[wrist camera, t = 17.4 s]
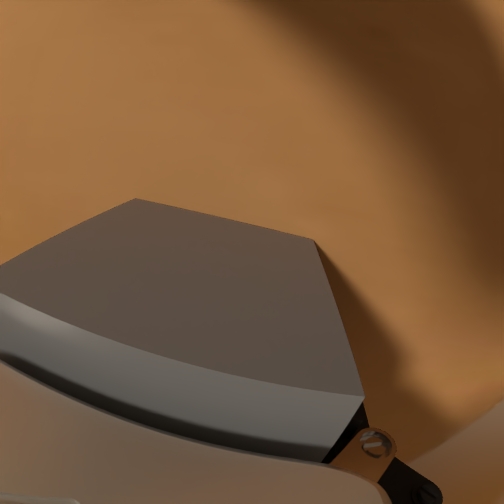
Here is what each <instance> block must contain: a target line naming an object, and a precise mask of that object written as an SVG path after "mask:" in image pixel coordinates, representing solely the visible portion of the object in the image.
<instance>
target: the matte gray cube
mask: <svg viewBox="0 0 504 504" xmlns="http://www.w3.org/2000/svg"><path fill="white" fill-rule="evenodd" d="M0 360H2V361H4V362H6V363H7V364H9V365H11V366H13V367H15V368H16V369H18V370H20V371H22V372H24V373H26V374H28V375H30V376H31V377H33V378H35V379H37V380H39V381H41V382H43V383H45V384H47V385H49V386H51V387H53V388H55V389H57V390H59V391H61V392H64V393H66V394H68V395H70V396H72V397H75V398H77V399H79V400H81V401H84V402H86V403H88V404H91V405H93V406H96V407H98V408H101V409H103V410H106V411H108V412H111V413H113V414H116V415H119V416H121V417H124V418H127V419H130V420H133V421H135V422H138V423H141V424H144V425H147V426H150V427H154V428H157V429H160V430H163V431H167V432H170V433H174V434H177V435H181V436H184V437H188V438H192V439H196V440H199V441H204V442H208V443H212V444H216V445H221V446H225V447H230V448H235V449H240V450H246V451H251V452H256V453H262V454H268V455H274V456H280V457H287V458H294V459H300V460H307V461H313V462H318V463H321V462H322V460H323V459H324V458H325V456H326V455H327V453H328V452H329V451H330V449H331V448H332V447H333V445H334V444H335V442H336V441H337V439H338V438H339V437H340V435H341V434H342V432H343V431H344V429H345V428H346V426H347V425H348V423H349V422H350V420H351V419H352V417H353V416H354V414H355V412H356V411H357V409H358V408H359V406H360V405H361V403H362V401H363V400H364V398H365V394H364V390H363V387H362V384H361V380H360V377H359V373H358V370H357V367H356V364H355V360H354V357H353V354H352V351H351V348H350V344H349V341H348V338H347V335H346V332H345V329H344V326H343V323H342V320H341V317H340V314H339V311H338V308H337V305H336V302H335V299H334V296H333V293H332V290H331V288H330V285H329V282H328V279H327V276H326V273H325V271H324V268H323V265H322V262H321V260H320V257H319V254H318V251H317V249H316V246H315V243H314V241H313V240H312V239H308V238H304V237H300V236H296V235H292V234H288V233H284V232H280V231H276V230H272V229H268V228H263V227H259V226H255V225H251V224H247V223H242V222H238V221H234V220H230V219H225V218H221V217H217V216H212V215H208V214H204V213H199V212H195V211H191V210H186V209H182V208H177V207H173V206H168V205H164V204H159V203H154V202H150V201H145V200H141V199H136V198H135V199H133V200H130V201H128V202H126V203H123V204H121V205H119V206H117V207H114V208H112V209H110V210H108V211H106V212H103V213H101V214H99V215H97V216H95V217H93V218H90V219H88V220H86V221H84V222H82V223H80V224H78V225H76V226H74V227H72V228H70V229H68V230H66V231H64V232H62V233H60V234H58V235H56V236H54V237H52V238H50V239H48V240H46V241H44V242H42V243H40V244H38V245H36V246H35V247H33V248H31V249H29V250H27V251H25V252H23V253H22V254H20V255H18V256H16V257H14V258H13V259H11V260H9V261H7V262H6V263H4V264H2V265H0Z"/></svg>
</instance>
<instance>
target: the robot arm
mask: <svg viewBox="0 0 504 504" xmlns="http://www.w3.org/2000/svg"><path fill="white" fill-rule="evenodd" d="M396 451H397V447H396V443H395V441H394V439H393V438H392V437H391V436H390V435H389V434H388V433H387V432H385V431H383V430H381V429H377V428H369V424H368V420H367V416H366V412H365V408H364V405H363V401H362V403H361V405H360V406H359V408H358V409H357V411H356V412H355V414H354V416H353V417H352V419H351V420H350V422H349V423H348V425H347V426H346V428H345V429H344V431H343V432H342V434H341V435H340V437H339V438H338V439H337V441H336V442H335V444H334V445H333V447H332V448H331V449H330V451H329V452H328V453H327V455H326V456H325V458H324V459H323V460H322V462H321V463H318V462H313V461H307V460H300V459H294V458H287V457H280V456H274V455H268V454H262V453H256V452H251V451H246V450H240V449H235V448H230V447H225V446H221V445H216V444H212V443H208V442H204V441H199V440H196V439H192V438H188V437H184V436H181V435H177V434H174V433H170V432H167V431H163V430H160V429H157V428H154V427H150V426H147V425H144V424H141V423H138V422H135V421H133V420H130V419H127V418H124V417H121V416H119V415H116V414H113V413H111V412H108V411H106V410H103V409H101V408H98V407H96V406H93V405H91V404H88V403H86V402H84V401H81V400H79V399H77V398H75V397H72V396H70V395H68V394H66V393H64V392H61V391H59V390H57V389H55V388H53V387H51V386H49V385H47V384H45V383H43V382H41V381H39V380H37V379H35V378H33V377H31V376H30V375H28V374H26V373H24V372H22V371H20V370H18V369H16V368H15V367H13V366H11V365H9V364H7V363H6V362H4V361H2V360H0V504H442V502H443V499H442V498H443V497H442V493H441V491H440V489H439V488H438V487H437V486H436V485H435V484H434V483H433V482H431V481H430V480H428V479H427V478H425V477H424V476H422V475H420V474H419V473H417V472H416V471H415V470H413V469H411V468H410V467H409V466H407V465H406V464H404V463H403V462H401V461H400V460H398V459H397V458H396V457H394V456H395V454H396Z"/></svg>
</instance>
